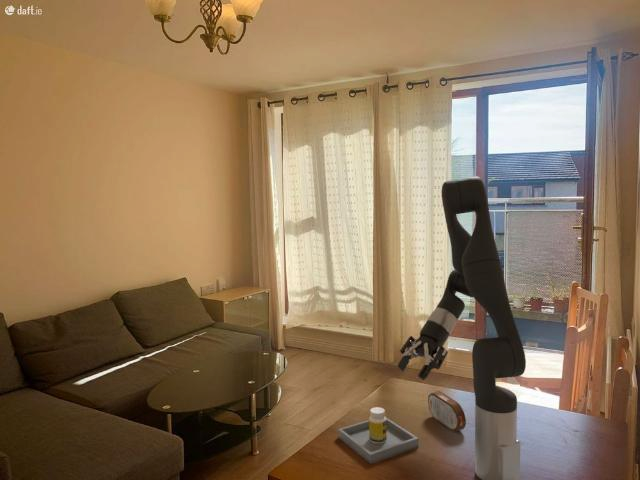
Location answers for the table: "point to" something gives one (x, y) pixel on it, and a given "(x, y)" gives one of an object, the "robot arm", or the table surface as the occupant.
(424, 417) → the table surface
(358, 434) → the tray
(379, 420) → the supplement bottle
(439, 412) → the tin
